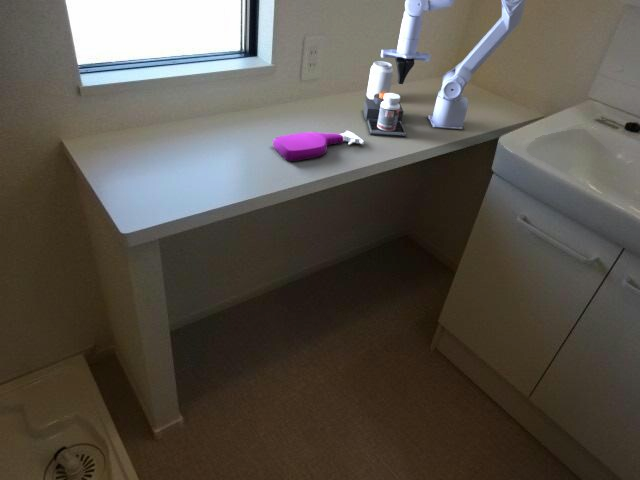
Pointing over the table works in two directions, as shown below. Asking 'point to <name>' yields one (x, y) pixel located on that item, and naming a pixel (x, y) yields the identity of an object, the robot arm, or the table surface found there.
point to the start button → (382, 94)
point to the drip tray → (376, 131)
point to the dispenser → (376, 108)
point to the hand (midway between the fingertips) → (400, 83)
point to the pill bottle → (389, 112)
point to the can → (379, 78)
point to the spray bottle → (310, 144)
